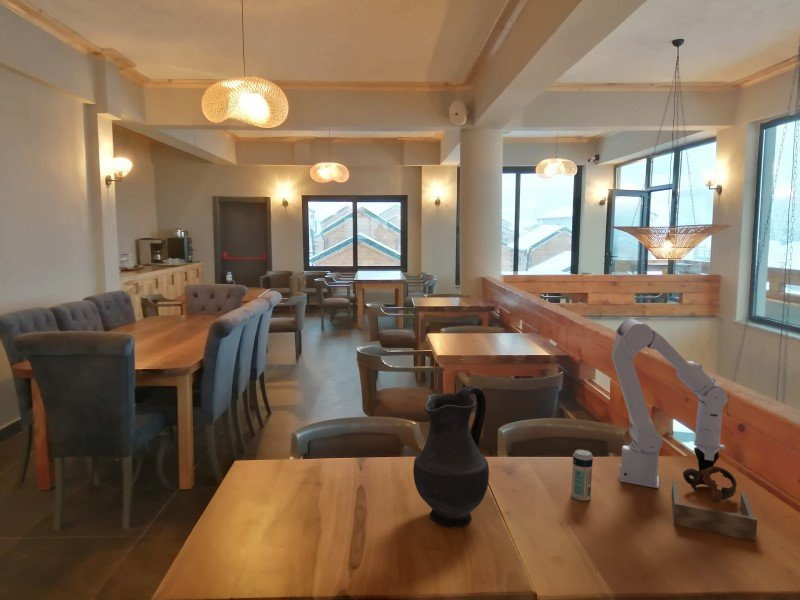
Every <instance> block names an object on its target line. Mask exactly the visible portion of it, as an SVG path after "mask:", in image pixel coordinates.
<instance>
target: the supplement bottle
mask: <svg viewBox="0 0 800 600" xmlns="http://www.w3.org/2000/svg"><path fill="white" fill-rule="evenodd" d="M572 456H573V457H572V475H571V489H570V490H571V491H570V496H571V497H572V498H573V499H575V500H577V501H580V502H587V501H588V500H589V501H590V499H592V497H591V496H592V479H593V478H592V476H593V465H594V464H593V463H594V462H593V461H594V459H593V458H594V456H593V454H592V452H591V451H589V450H586V449H582V448H581V449H579V448H578V449H575V451H574V453H572Z"/></svg>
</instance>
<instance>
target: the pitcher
mask: <svg viewBox="0 0 800 600" xmlns="http://www.w3.org/2000/svg"><path fill="white" fill-rule="evenodd" d="M472 393H473V394H474V395H475V399H476V400H475V399H474V398H473V397H472V395H471V394H472ZM475 408H476V409H475ZM474 409H475V414H474V418H473V422H472V425H471V427H470V425H469V424H470V418H471V415H472V413H473V410H474ZM486 410H487V400H486V395H485V392H484V390H483V389H482V388H480V387H479V386H478V387H477V386H476V385H475V386H474V385H472V384H471V385H470V384H469V385H466V386H465V387H463V388H461V389H460V390H459V391H458V392H456V393H447V392H445V393H442V392H441V393H433V394H430V395H428V396H427V402H426V403H425V405H424V411H425V412H426V413H427V416H428V417H429V420H430V424H429V428H428V436H427V439H426V442H425V444H424V447H423V448H422V450H421V451H420V452H419V453H418V454H417V455H416V456H415V458H414V460H413V481H414V485H415V488H416V490H417V493H418V494H419V497H421V499H422V500H423V501H424V502H425V503H426V505H428V506H429V507H430V508H431V509H432V510H431V511H430V513H429V518H430V521H431V522H433V523H434V524H436V525H438V526H440V527H444V528H460V527H464V526H467V525H468V524H470V523H471V522H472V514H471V513H472V511H474V510H476V508H478V506H479V505H480V504H481V503H482V501H483V499H484V498H485V496H486V493H487V490H488V486H489V480H490V469H489V463H488V459H487V458H486V456H484V455H483V454H482V453H481V452H480V449H479V447H480V439H481V436H482V432H483V426H484V422H485V417H486V412H487V411H486Z"/></svg>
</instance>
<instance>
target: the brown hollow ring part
mask: <svg viewBox="0 0 800 600" xmlns="http://www.w3.org/2000/svg"><path fill="white" fill-rule="evenodd" d="M718 473H721V474H722V477H724V478H726V479H728V480H730V483H731V487H725V486H724V487H721V490H720V489H719V488H718V486H719V485H718V483H716V480H714V479H712V477H711V475H712V474H718ZM682 476H683V479H684V480H685V482H686V483H687V484H689V485H690V486H691V488H692V489H693V490H696V488H697V486H700V485H703V486H704V485H705V486H707V487H708V488H709V489H710V490H711V491H712V492H713V495H712V496H710V497H711V498H710V500H711V501H713V502H715V503H718V502H720V501H721V500H722V501H724V500H726V499H730V498H732V497H733V496H734V495H735V494H736V492H737V489H736V488H737V479H736V478H735V477H734V476H733V474H732V473H730V471H728V470H726V469H724V468H722V467H719V466H712V467H709V468H706V469H703V470H701V471H699V470H696V469H694V468H687V469H685V470H684V471H683V472H682ZM691 477H692V478H691Z"/></svg>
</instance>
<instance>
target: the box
mask: <svg viewBox="0 0 800 600" xmlns="http://www.w3.org/2000/svg"><path fill="white" fill-rule="evenodd" d="M671 485H672V488H671V505H672V518H673V526H679V527H684V528H689V529H694V530H697V531H704V532H707V531H708V532H707V533H713V534H718V535H723V536H727V537H732V538H737V539H741V540H746V541H750V542H756V538H757V529H758V528H757V527H758V518H757V517H755V515H754V512H753V510H752V505H751V503H750V500H749V498H748V495H747V493H743V492H742V493H740V504H739V510H740V513H739V514H738V513H735V512H729V511H725V510H718V509H712V508H707V507H703V506H698V505H694V504H693V505H692V504H687V503H682V502H680V497H679V496H680V495H679V488H678V487H679V486H678V481H675V480H673V481H672V484H671Z"/></svg>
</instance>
